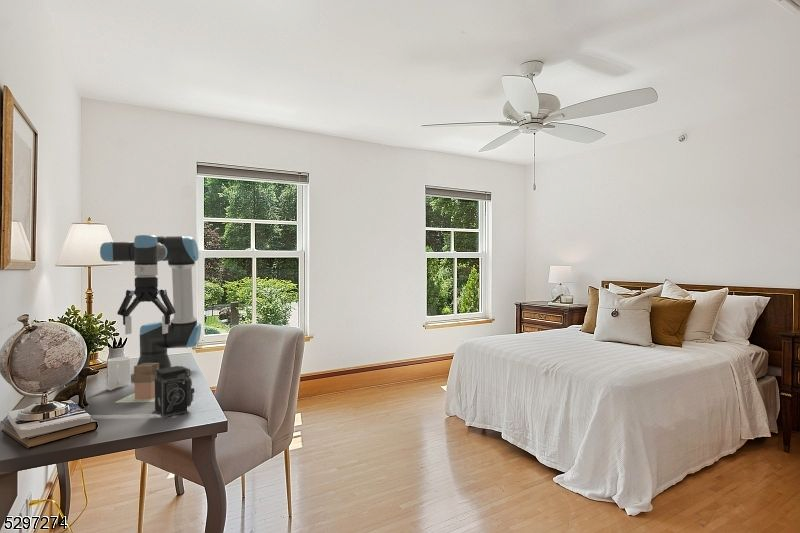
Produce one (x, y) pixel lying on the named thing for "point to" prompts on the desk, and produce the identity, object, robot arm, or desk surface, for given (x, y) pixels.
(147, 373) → the walnut brick
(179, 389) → the camera
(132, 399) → the build board
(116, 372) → the white rectangular block
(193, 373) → the desk surface
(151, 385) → the terracotta brick
